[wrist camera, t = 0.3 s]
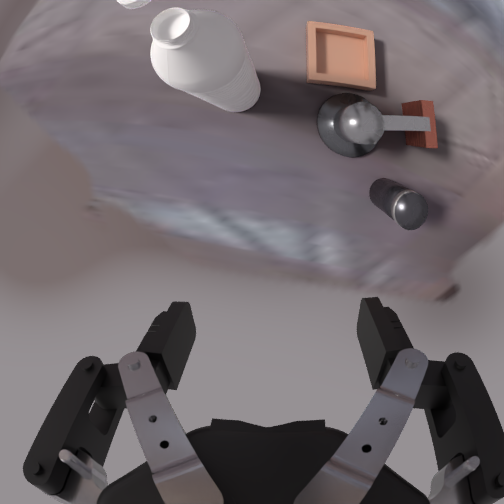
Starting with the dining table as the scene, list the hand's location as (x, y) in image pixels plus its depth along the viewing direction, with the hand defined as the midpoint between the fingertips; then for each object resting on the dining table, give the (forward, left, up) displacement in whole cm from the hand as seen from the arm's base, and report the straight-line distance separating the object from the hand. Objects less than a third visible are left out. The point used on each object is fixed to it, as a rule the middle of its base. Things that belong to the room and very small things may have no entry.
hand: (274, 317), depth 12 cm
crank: (-11, +13, -27) cm, 32 cm away
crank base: (-10, +10, -28) cm, 31 cm away
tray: (-20, +8, -28) cm, 35 cm away
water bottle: (-15, -6, -28) cm, 33 cm away
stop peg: (-1, +16, -28) cm, 32 cm away
